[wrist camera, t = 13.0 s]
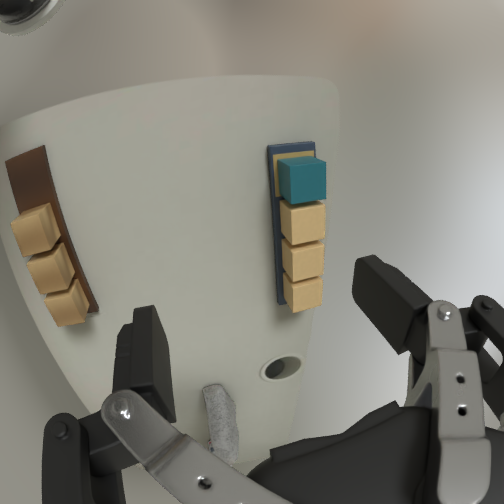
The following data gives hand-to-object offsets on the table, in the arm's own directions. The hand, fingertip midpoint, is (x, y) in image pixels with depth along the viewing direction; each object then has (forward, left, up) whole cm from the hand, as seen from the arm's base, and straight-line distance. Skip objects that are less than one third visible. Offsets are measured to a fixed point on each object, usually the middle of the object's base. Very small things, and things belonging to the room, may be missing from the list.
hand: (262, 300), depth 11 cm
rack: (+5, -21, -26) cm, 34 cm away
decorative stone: (+45, -5, -26) cm, 52 cm away
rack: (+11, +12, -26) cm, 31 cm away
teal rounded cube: (+3, +12, -25) cm, 28 cm away
